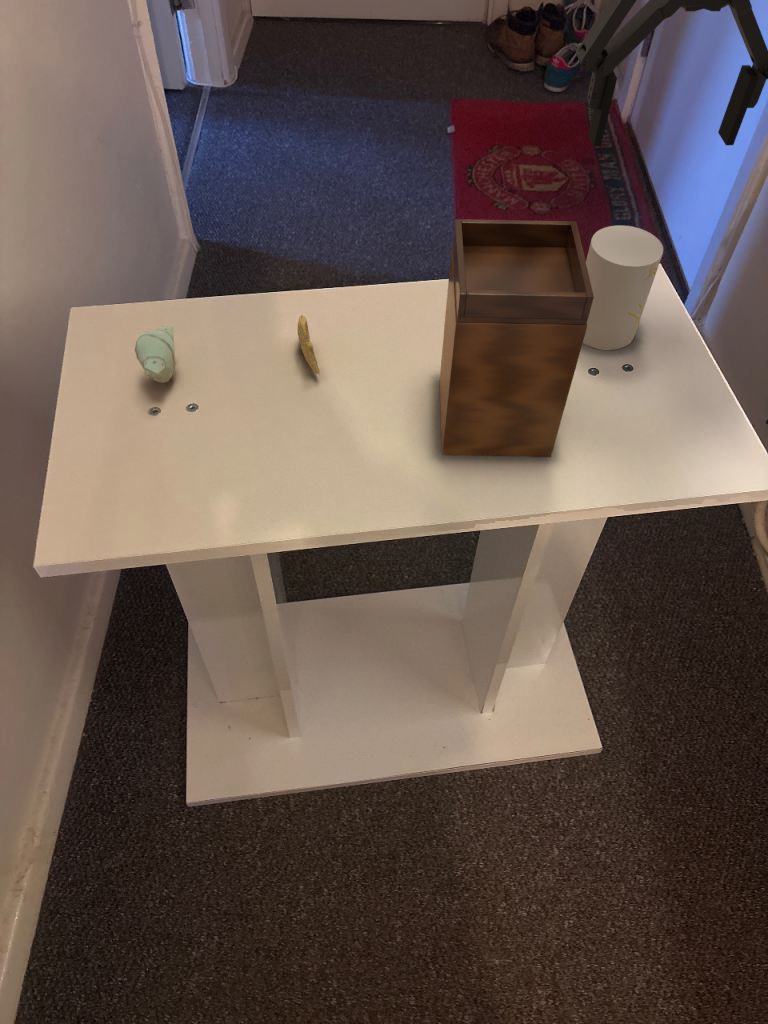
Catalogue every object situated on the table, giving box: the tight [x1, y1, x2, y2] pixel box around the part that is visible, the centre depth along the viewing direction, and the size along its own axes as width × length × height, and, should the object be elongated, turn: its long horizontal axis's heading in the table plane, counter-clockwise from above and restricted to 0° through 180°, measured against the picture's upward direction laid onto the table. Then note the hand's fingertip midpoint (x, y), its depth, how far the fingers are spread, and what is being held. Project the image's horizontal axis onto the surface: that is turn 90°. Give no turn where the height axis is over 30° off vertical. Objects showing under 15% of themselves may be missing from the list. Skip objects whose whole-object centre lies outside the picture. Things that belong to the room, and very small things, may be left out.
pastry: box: [297, 314, 321, 376], centre depth 90 cm, size 9×2×5 cm, turn 17°
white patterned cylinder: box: [582, 225, 664, 351], centre depth 91 cm, size 8×8×12 cm
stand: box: [439, 246, 587, 458], centre depth 79 cm, size 12×12×18 cm
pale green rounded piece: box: [134, 326, 176, 384], centre depth 87 cm, size 8×4×7 cm, turn 177°
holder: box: [452, 218, 594, 325], centre depth 71 cm, size 12×12×3 cm
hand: (660, 139), depth 78 cm, fingers open, 13 cm apart
